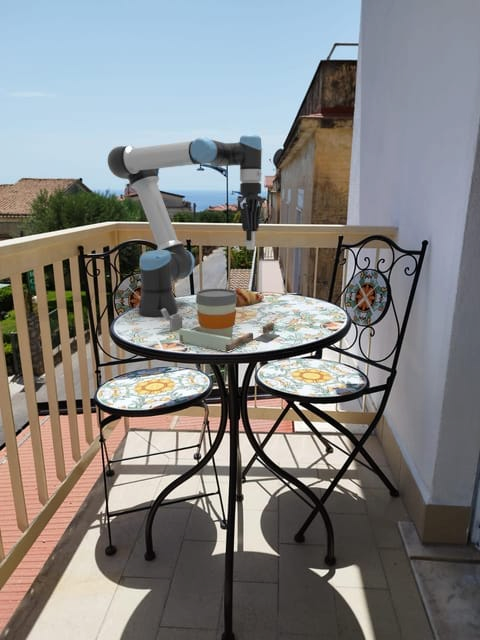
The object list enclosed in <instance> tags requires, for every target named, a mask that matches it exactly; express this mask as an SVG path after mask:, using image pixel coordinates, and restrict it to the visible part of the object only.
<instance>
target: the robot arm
mask: <svg viewBox="0 0 480 640" xmlns="http://www.w3.org/2000/svg"><path fill="white" fill-rule="evenodd" d="M262 152H263V148H262V138H261V136H259V135H258V134H244V135H241V136H240V137H239V141H238V142H227V143H226V142H222V141H218V140H214V139H212V138H207V137H197V138H196V139H194V140H190V141H181V142H174V143H166V144H158V145H151V146H149V145H148V146H143V147H135V146H133V145H127V146H126V145H125V146H124V145H121V146H116V147H113V149H111V150H110V151H109V153H108V156H107V166H108V168H109V170H110V172H111V173H112V174H113V175H114V176H116V177H117V178H120V179H124V180H128V182H129V185H130V187H131V189H133V190H135V191H136V194H137V195H138V198H139V200H140V203H141V205H142V209H143V212H144V214H145V217H146V219H147V221H148V225H149V227H150V230H151V232H152V235H153V238H154V240H155V241H154V242H155V243H156V246H157V249H156V250H155V249H154V250H149V251H145V252H143V253H142V254H141V255H140V257H139V264H138V265H139V272H140V274H139V275H140V285H141V286H140V287H141V294H140V295H141V297H140V299H139V303H138V306H137V307H138V308H137V309H138V311H137V312H138V314H139V315H140V316H143V317H150V318H151V317H157V318H158V317H164V316H163V314H162V312H161V310H162V309H163V308H165V309H166V310H167V312H168V314H169V315H170V316H173V315H174V314H178V311H179V308H178V307H179V306H178V304H177V300H176V298H175V296H174V293H173V282H175V281H179V280H181V281H182V280H184V279H186V278H188V277H189V276H191V274H192V273H193V271H194V269H195V261H196V260H195V257H194V256H193V254H192V252H191V251H189V250H188V249H186V247H185V245H184V243H183V242H182V241H180V240H178V237H177V234H176V231H175V229H174V225H173V224H172V220H171V218H170V215H169V212H168V210H167V206H166V205H165V202H164V198H163V196H162V193H161V192H160V189H159V186H158V182H159V180H160V177H159V172H160V169H164V168H165V169H166V168H175V167H183V166H193V165H206V164H208V165H209V164H210V166H212V167H220V168H222V167H229V166H232V167H233V166H239V180H240V182H241V183H239V191H240V192H239V193H240V195H242V199H241V202H239V203H238V208H239V211H240V220H241V225H242V226H241V227H242V230H243V232H246V233H245V234H246V235H245V236H246V250H250V251H252V250H256V232H258V231H259V227H260V218H261V210H262V207H263V202H260V200H259V199H260V198H259V195H261V193H262V184H261V182H262V174H263V173H262V154H263V153H262Z"/></svg>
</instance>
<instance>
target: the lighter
mask: <svg viewBox="0 0 480 640" xmlns="http://www.w3.org/2000/svg"><path fill="white" fill-rule="evenodd" d="M161 312H162V314H163V316H162V317H164V319H165V321H167V322H169V331H171V332H175V331H179V329H181V328H183V326H184V325H183V316H181V315H180V314H179V313H175V314H172V317H171V315H169V314H168V312H167V310H166V309H165V308H163V309H162V310H161ZM183 329H184V328H183Z"/></svg>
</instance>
